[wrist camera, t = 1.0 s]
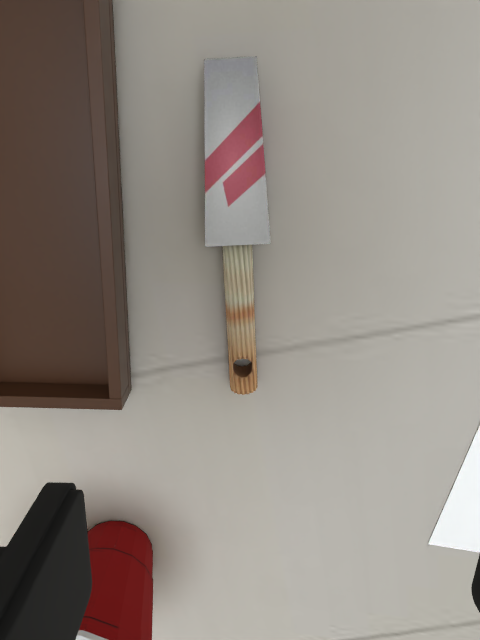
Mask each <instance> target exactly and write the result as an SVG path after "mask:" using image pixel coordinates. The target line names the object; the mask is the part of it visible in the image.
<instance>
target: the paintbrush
mask: <svg viewBox="0 0 480 640" xmlns="http://www.w3.org/2000/svg"><path fill="white" fill-rule="evenodd" d="M204 89H205V247H210V246H223V267H224V285H225V303H226V320H227V336H228V353H229V372H230V387H231V390H232V391H234V393H237V394H242V395H244V394H249V393H253V391H255V390H256V388H257V367H256V344H255V315H254V285H253V256H252V245H254V244H271V241H270V228H269V215H268V201H267V188H266V175H265V161H264V148H263V135H262V122H261V108H260V95H259V82H258V68H257V56H255V57H236V58H216V59H204ZM242 358H243V359H248V360H249V361H251V363H249V364H248V365H247V366H243V367H242V366H237V365H235V364H234V362H235V361H236V360H237V359H242Z"/></svg>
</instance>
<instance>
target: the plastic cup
mask: <svg viewBox="0 0 480 640" xmlns="http://www.w3.org/2000/svg"><path fill="white" fill-rule="evenodd" d="M87 533H88V543H89V553H90V563H91V573H92V590H91V595H90V599H89V602H88V605H87V608H86V611H85V614H84V617H83V619H82V622H81V625H80V628H79V631H78V634H77V637H76V640H152V610H153V579H152V569H153V551H152V544H151V542H150V540H149V539H148V537H147V535H146V534H145V533H144V532H143V531H142V530H140V529H139V528H138V527H137V526H134V525H132V524H129V523H126V522H123V521H108V522H104V523H101V524H97V525H96V526H95V527H93V528H92V529H91V530H89V531H88V532H87Z"/></svg>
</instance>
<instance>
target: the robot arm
mask: <svg viewBox="0 0 480 640" xmlns="http://www.w3.org/2000/svg"><path fill="white" fill-rule="evenodd" d="M91 590H92V573H91V563H90V553H89V543H88V533H87V523H86V513H85V503H84V494H83V491H82V490H76V486H75V484H74V483H47V484H45V486H44V487H43V489H42V490H41V492H40V493H39V495H38V497H37V498H36V500H35V502H34V503H33V505H32V506H31V508H30V510H29V511H28V513H27V515H26V516H25V518H24V519H23V521H22V523H21V524H20V526H19V528H18V529H17V531H16V532H15V534H14V536H13V537H12V539H11V541H10V542H9V544H8V545H7V547H0V640H76V637H77V634H78V631H79V628H80V625H81V622H82V619H83V617H84V614H85V611H86V608H87V605H88V602H89V599H90V595H91ZM472 596H473V600H474V602H475V605H476V607H477V608H478V610H479V612H480V555H479V559H478V563H477V567H476V571H475V575H474V579H473V583H472Z"/></svg>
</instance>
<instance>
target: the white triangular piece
mask: <svg viewBox="0 0 480 640" xmlns="http://www.w3.org/2000/svg"><path fill="white" fill-rule="evenodd" d="M428 544H431V545H437V546H443V547H449V548H455V549H461V550H468V551H474V552H480V426H479V428H478V430H477V433H476V435H475V437H474V440H473V442H472V444H471V446H470V449H469V451H468V453H467V456H466V458H465V460H464V463H463V465H462V467H461V469H460V472H459V474H458V476H457V479H456V481H455V483H454V486H453V488H452V490H451V492H450V495H449V497H448V499H447V502H446V504H445V506H444V509H443V511H442V513H441V515H440V518H439V520H438V522H437V525H436V527H435V529H434V532H433V534H432V536H431V538H430V541H429V543H428Z"/></svg>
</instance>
